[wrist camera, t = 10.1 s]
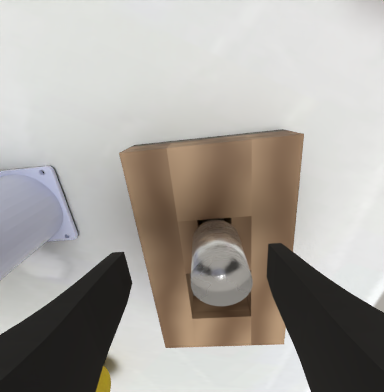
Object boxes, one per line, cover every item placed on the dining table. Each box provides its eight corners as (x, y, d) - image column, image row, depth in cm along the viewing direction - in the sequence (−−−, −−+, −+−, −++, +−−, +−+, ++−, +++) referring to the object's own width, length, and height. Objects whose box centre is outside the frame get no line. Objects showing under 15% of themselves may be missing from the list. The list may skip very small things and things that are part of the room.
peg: (189, 238, 21) (184, 314, 13) (185, 194, 19) (176, 251, 11) (237, 236, 20) (260, 312, 13) (238, 191, 19) (265, 248, 11)
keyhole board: (170, 316, 27) (165, 347, 23) (134, 145, 18) (119, 153, 15) (272, 312, 26) (283, 344, 22) (283, 129, 17) (303, 133, 14)
